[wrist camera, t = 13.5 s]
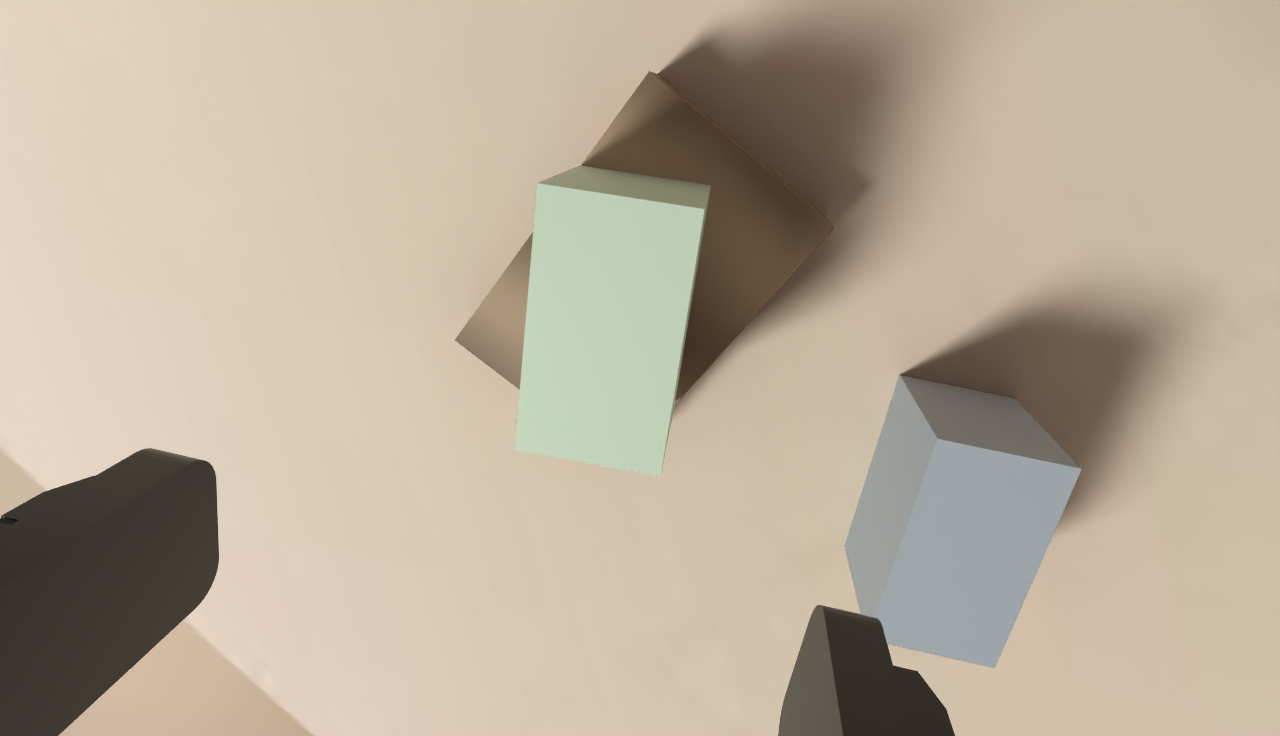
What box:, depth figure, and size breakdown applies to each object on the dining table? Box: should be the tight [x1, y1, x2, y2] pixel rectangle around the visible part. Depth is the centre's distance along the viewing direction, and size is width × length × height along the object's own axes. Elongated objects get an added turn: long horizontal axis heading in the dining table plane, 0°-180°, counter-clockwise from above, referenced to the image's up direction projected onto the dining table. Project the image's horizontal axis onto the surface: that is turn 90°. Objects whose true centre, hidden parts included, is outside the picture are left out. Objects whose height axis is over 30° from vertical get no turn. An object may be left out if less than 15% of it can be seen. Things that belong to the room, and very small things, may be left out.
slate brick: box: [845, 375, 1082, 668], centre depth 27 cm, size 8×4×6 cm, turn 170°
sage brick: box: [515, 166, 711, 476], centre depth 24 cm, size 8×4×6 cm, turn 172°
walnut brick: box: [455, 71, 834, 405], centre depth 28 cm, size 12×8×3 cm, turn 142°
